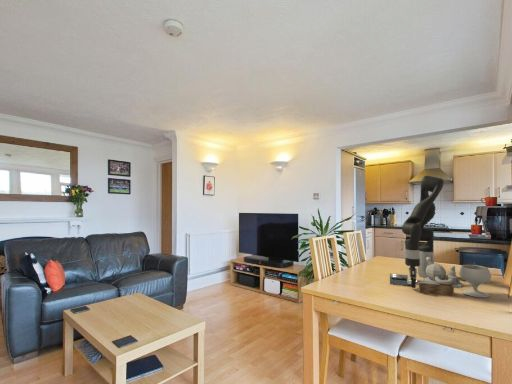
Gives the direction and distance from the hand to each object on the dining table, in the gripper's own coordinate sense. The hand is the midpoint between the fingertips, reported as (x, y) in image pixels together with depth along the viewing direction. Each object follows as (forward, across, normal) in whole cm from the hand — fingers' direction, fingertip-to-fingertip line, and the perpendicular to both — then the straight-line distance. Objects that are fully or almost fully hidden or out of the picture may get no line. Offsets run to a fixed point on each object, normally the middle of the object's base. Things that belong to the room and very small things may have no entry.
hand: (413, 286), depth 161 cm
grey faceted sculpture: (+3, +23, -17) cm, 28 cm away
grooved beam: (+2, 0, -11) cm, 11 cm away
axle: (-2, 0, -5) cm, 6 cm away
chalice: (+2, +5, -30) cm, 30 cm away
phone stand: (+2, +36, -34) cm, 49 cm away
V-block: (+2, +11, +8) cm, 13 cm away
